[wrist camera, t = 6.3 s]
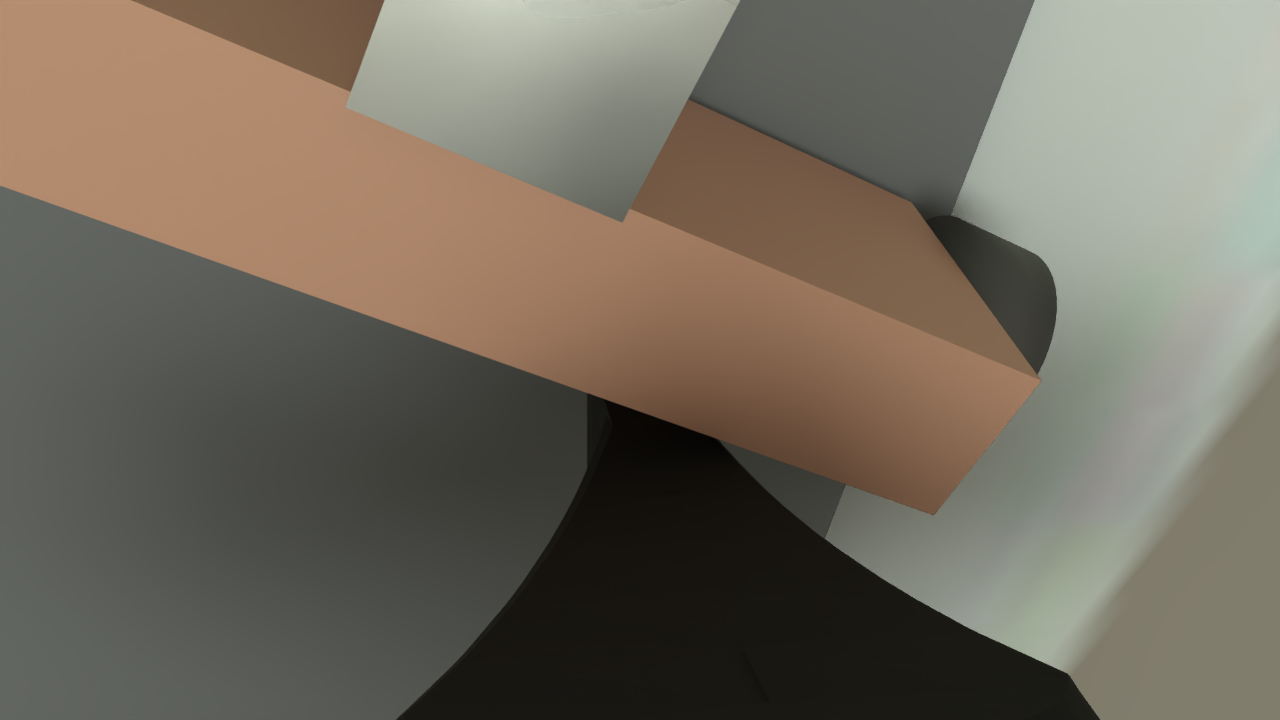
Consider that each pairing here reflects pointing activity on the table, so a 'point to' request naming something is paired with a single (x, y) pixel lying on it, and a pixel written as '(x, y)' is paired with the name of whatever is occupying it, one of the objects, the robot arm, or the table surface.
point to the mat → (361, 419)
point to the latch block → (542, 85)
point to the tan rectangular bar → (540, 239)
